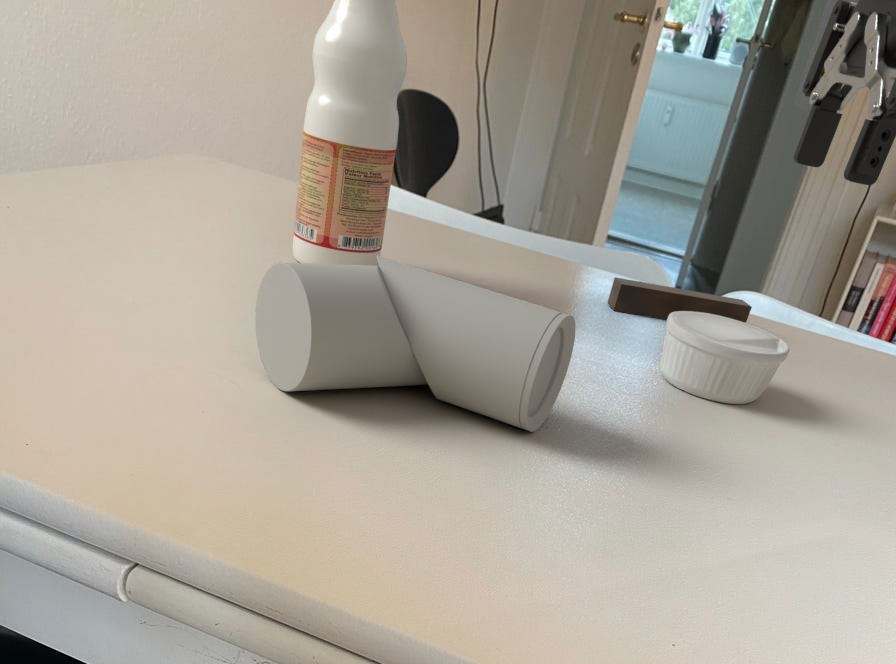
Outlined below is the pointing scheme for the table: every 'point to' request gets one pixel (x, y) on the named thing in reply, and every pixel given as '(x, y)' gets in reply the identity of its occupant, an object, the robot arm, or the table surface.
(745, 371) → the ramekin
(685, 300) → the stop bar
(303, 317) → the elbow connector
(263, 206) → the table surface
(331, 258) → the fruit juice
